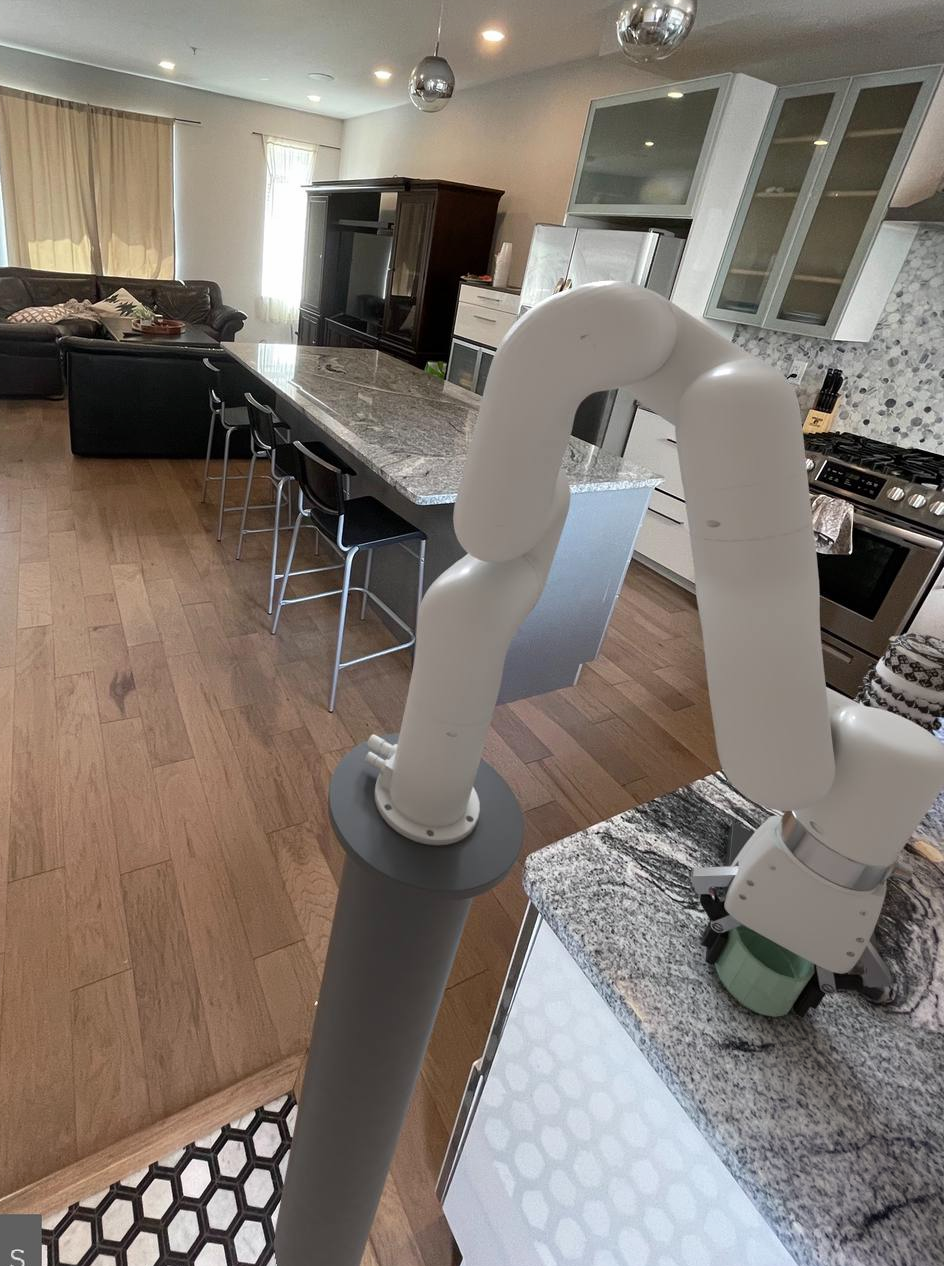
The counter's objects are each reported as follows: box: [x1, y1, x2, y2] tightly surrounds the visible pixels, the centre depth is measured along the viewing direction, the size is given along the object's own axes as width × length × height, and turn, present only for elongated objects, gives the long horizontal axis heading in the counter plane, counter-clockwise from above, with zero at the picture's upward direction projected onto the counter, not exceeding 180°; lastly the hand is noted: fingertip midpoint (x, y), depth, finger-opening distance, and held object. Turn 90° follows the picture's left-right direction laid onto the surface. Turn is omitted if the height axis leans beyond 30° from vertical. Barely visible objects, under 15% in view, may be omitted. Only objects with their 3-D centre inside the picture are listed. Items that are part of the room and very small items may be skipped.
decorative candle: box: [852, 632, 944, 737], centre depth 82 cm, size 9×9×25 cm
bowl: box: [714, 925, 815, 1018], centre depth 59 cm, size 7×7×6 cm
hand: (752, 975), depth 60 cm, fingers closed on bowl, 6 cm apart
